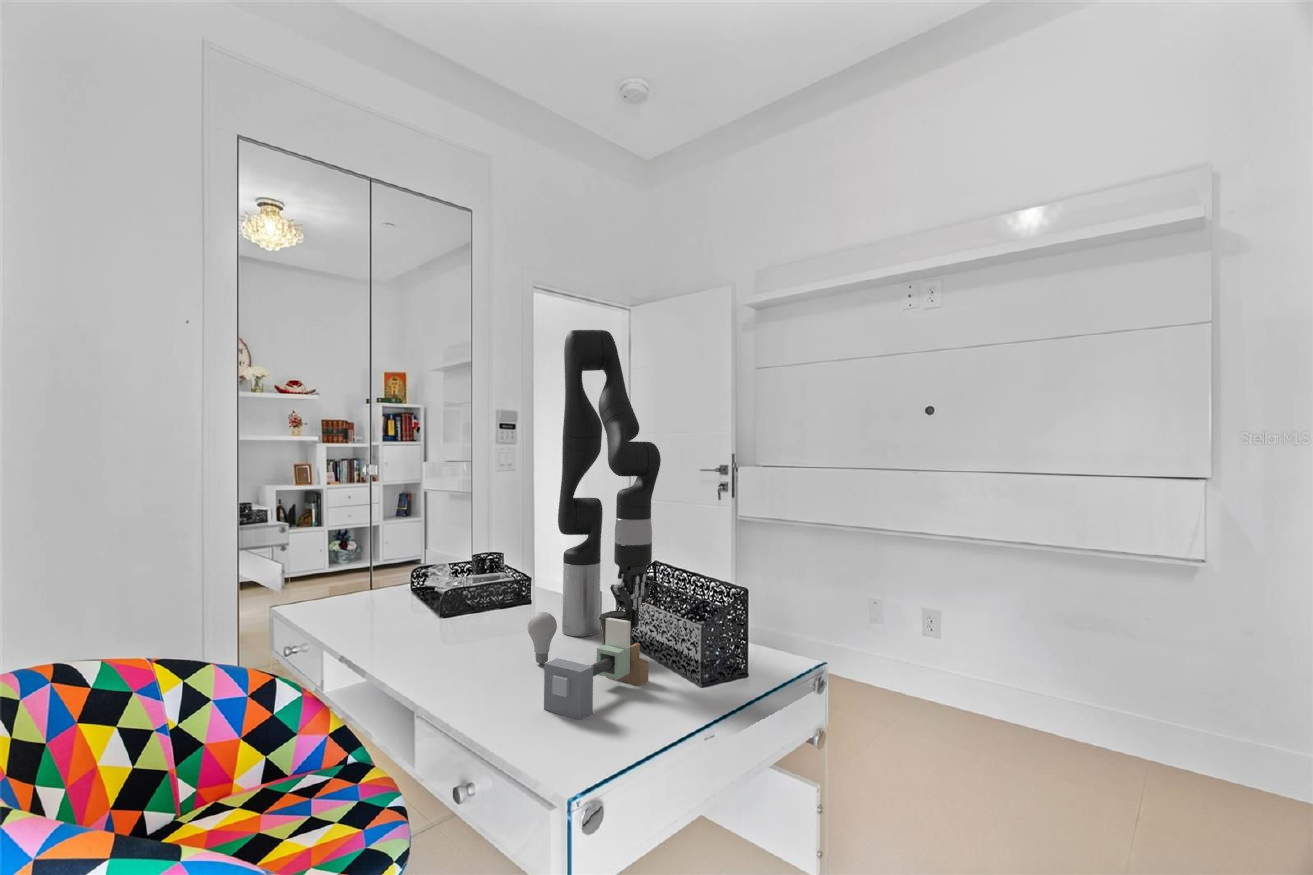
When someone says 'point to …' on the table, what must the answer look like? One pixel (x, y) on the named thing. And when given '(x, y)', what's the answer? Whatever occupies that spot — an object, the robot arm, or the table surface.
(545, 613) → the lightbulb
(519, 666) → the table surface
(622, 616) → the coffee cup
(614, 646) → the white-faced green block
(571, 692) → the rod rig
